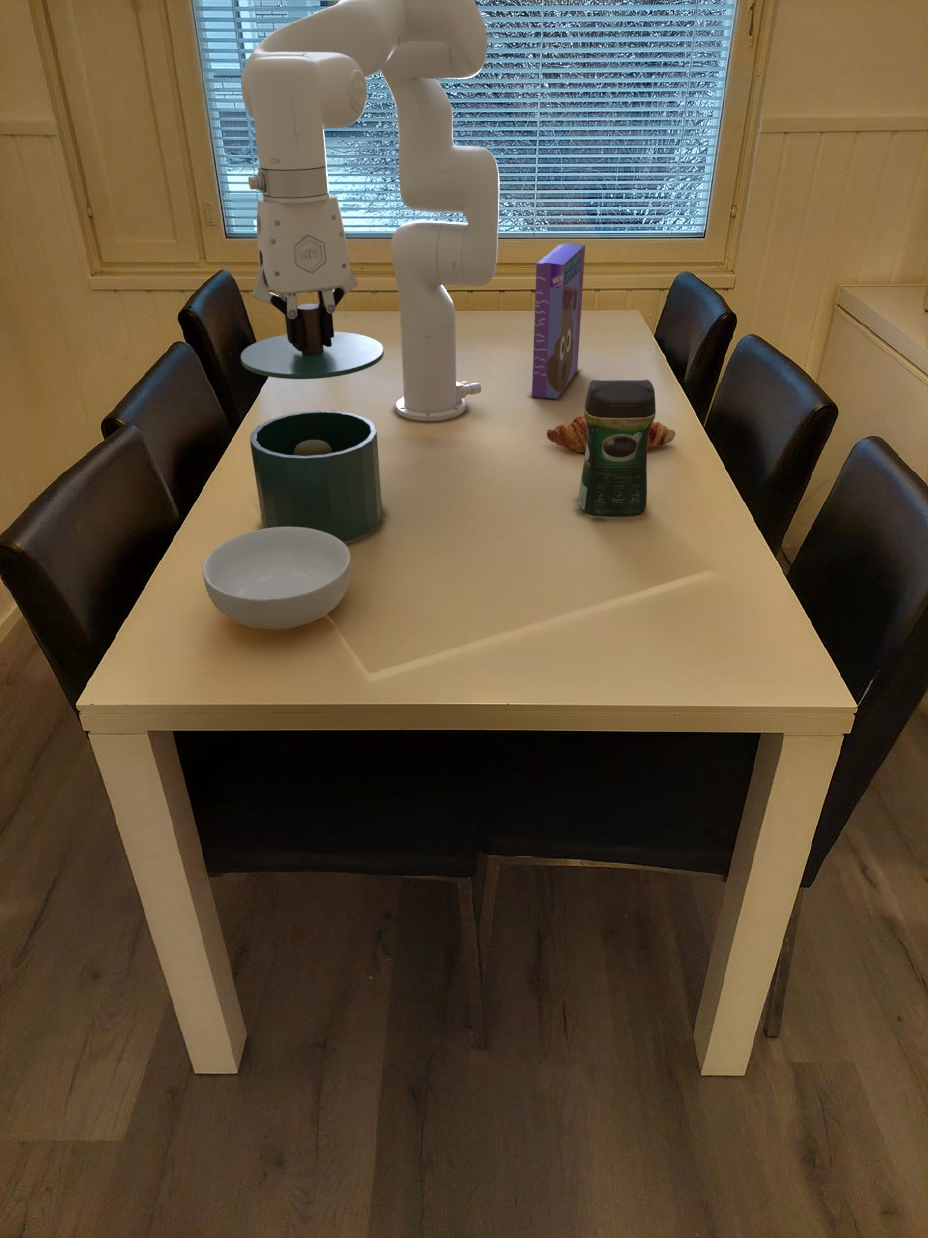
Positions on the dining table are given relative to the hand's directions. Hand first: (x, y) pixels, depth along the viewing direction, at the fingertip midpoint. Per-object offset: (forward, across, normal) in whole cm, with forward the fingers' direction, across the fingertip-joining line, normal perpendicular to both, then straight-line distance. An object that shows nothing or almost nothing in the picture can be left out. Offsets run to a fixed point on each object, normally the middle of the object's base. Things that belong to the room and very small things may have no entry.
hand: (311, 344), depth 110 cm
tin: (+25, -1, +1) cm, 25 cm away
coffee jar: (+25, +37, -16) cm, 47 cm away
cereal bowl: (+25, -13, -19) cm, 34 cm away
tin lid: (+1, 0, 0) cm, 1 cm away
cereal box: (+25, +59, +34) cm, 72 cm away
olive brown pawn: (+24, -1, +1) cm, 24 cm away
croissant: (+25, +50, +2) cm, 56 cm away
